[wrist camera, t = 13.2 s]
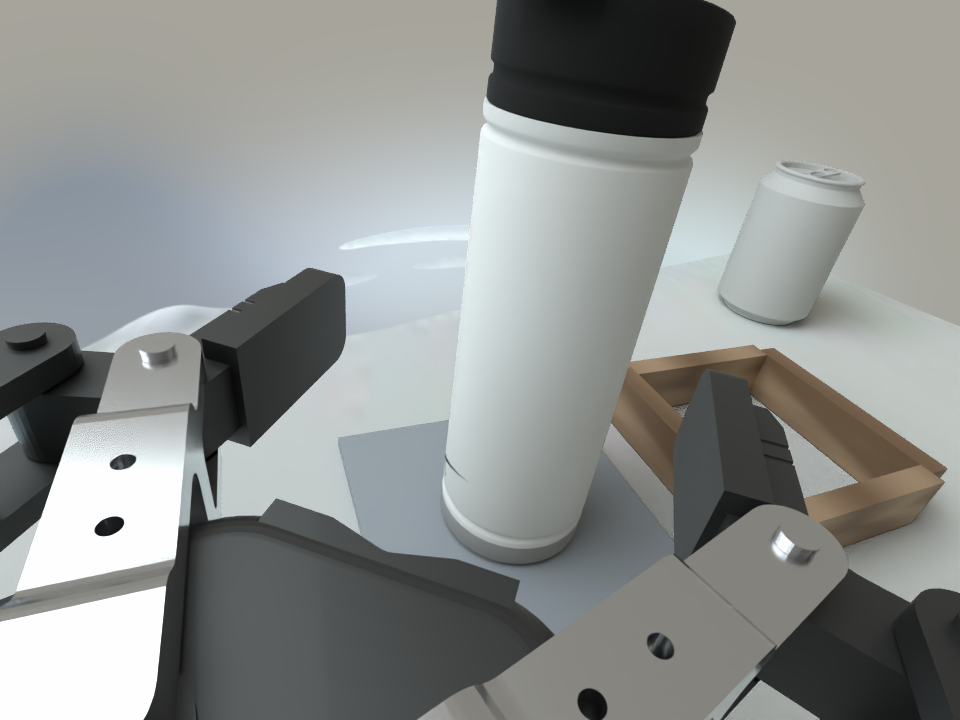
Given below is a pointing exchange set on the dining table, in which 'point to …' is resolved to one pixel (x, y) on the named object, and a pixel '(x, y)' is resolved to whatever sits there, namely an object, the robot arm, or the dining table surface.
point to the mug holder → (807, 409)
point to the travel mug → (566, 250)
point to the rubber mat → (543, 585)
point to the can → (790, 241)
